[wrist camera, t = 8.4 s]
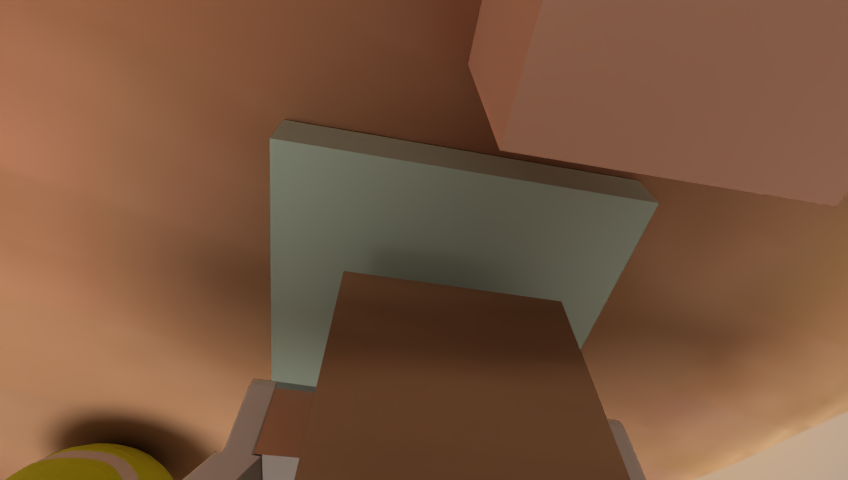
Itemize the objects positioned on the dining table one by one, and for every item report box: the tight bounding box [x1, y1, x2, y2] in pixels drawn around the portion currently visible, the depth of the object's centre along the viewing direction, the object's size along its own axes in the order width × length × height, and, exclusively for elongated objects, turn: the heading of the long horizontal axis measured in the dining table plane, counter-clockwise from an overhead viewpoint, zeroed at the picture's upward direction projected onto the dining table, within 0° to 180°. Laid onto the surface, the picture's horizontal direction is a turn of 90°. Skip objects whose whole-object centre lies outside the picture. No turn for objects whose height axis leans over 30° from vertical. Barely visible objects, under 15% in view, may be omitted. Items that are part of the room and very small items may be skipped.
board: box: [270, 120, 659, 387], centre depth 13 cm, size 9×9×1 cm
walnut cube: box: [294, 271, 630, 480], centre depth 9 cm, size 5×5×5 cm
